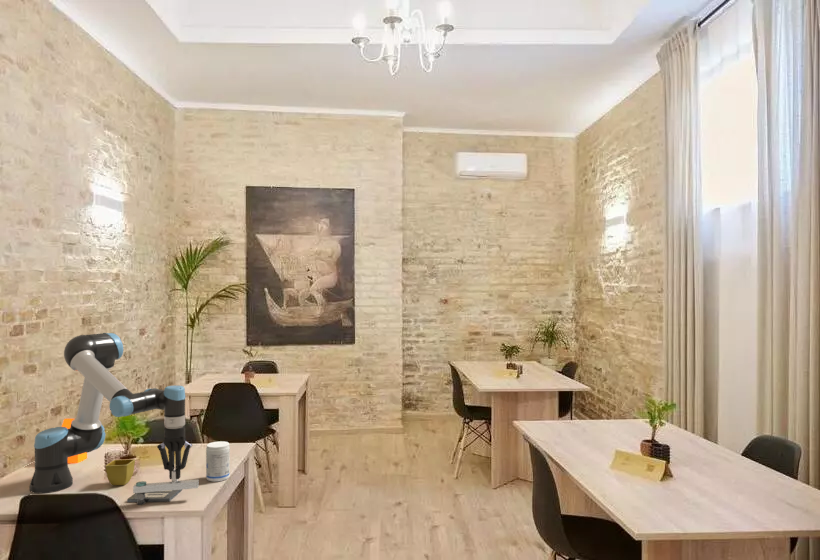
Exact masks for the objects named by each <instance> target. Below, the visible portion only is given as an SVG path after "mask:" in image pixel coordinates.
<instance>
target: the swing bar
mask: <svg viewBox="0 0 820 560" xmlns="http://www.w3.org/2000/svg"><path fill="white" fill-rule="evenodd" d="M199 481H200V480H199V479H189V480H178V481H173V482H172V481H162V482H161V481H160V482H151V483H147V481H145V480H144V481H143V480H141V481H138V482H136V483H135V484H134V485H133V486H132V492H133V493H132V494H135V493H143V492H156V491H168V490H181V489H182V490H191V489H199V486H200V485H199V484H200V483H199Z"/></svg>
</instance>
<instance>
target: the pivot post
mask: <svg viewBox="0 0 820 560" xmlns="http://www.w3.org/2000/svg"><path fill="white" fill-rule="evenodd" d="M136 504H137V505H138V506H140V505H141V506H142V505H145V504H146V502H145V492H143V493H137V502H136Z"/></svg>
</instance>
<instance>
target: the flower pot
mask: <svg viewBox="0 0 820 560" xmlns="http://www.w3.org/2000/svg"><path fill="white" fill-rule="evenodd" d="M135 463H136V459H135V458H133V459H132V458H131V459H130V458H129V459H113V460H112V461H110V462H108V463H107V464H106V465H105V472H106V477H107V480H108V481H109V483H110V485H111V486H112V487H113V486H125V485H127V484H128V483H129V482H130V481H131V479H132V477H133V475H134V472H135V465H136V464H135Z"/></svg>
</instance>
